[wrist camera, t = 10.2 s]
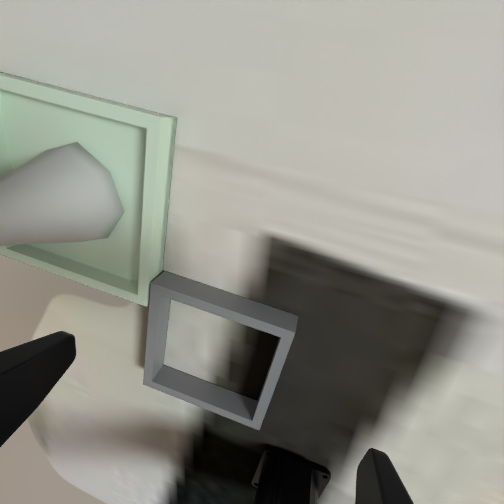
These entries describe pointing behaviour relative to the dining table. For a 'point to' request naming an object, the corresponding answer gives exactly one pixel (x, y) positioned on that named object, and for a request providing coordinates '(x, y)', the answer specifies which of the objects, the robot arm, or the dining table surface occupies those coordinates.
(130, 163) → the tray
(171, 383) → the socket
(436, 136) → the dining table surface
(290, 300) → the dining table surface
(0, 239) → the flask
